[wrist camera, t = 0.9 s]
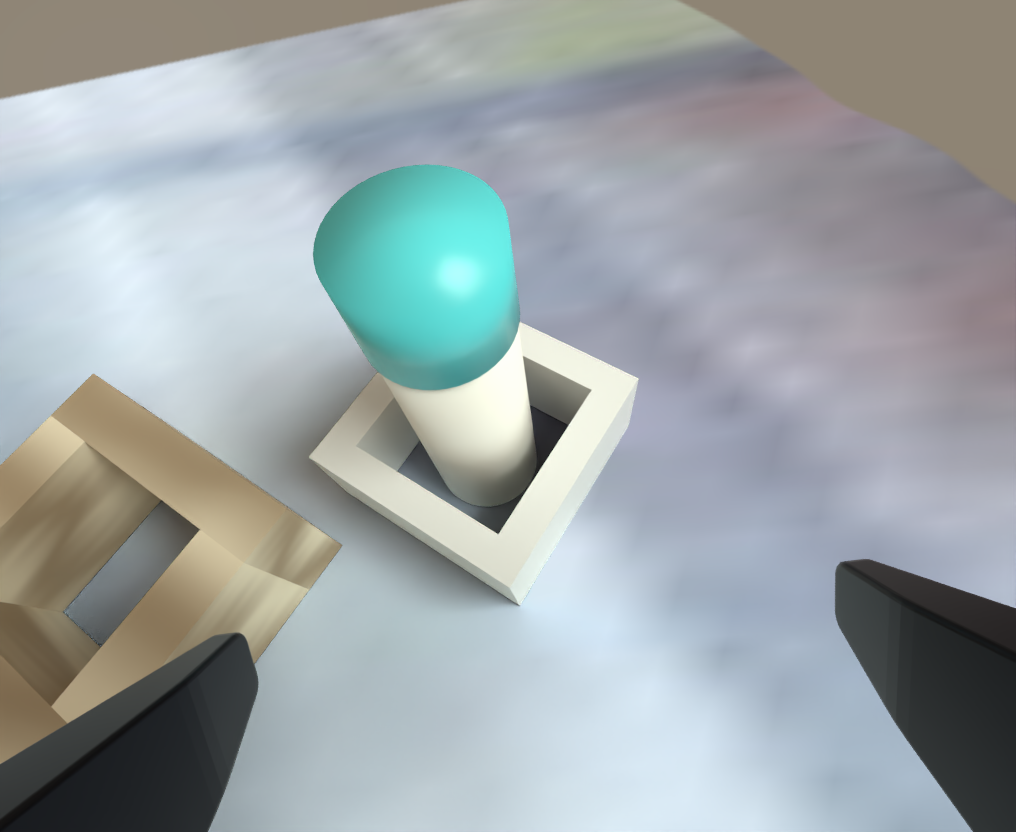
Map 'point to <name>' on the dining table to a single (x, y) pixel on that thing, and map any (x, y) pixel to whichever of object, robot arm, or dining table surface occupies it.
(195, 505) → the socket block
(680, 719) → the dining table surface
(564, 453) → the holster
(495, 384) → the plug
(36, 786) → the robot arm
